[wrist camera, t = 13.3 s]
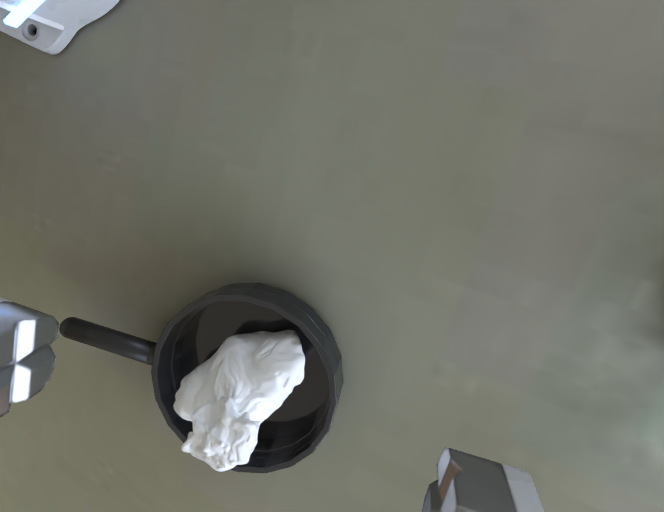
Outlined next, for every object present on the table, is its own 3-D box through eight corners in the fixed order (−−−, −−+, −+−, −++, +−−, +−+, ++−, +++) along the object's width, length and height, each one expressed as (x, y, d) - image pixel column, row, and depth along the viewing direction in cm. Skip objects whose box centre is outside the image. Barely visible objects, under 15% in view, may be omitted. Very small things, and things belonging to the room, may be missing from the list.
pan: (164, 413, 43) (140, 438, 39) (190, 260, 39) (166, 271, 35) (320, 465, 41) (311, 497, 37) (363, 310, 37) (357, 328, 33)
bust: (211, 377, 43) (203, 507, 35) (155, 341, 38) (130, 484, 30) (323, 333, 40) (340, 464, 32) (278, 288, 35) (286, 431, 27)
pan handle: (68, 330, 40) (53, 338, 38) (70, 311, 40) (55, 318, 38) (166, 361, 39) (155, 371, 37) (169, 342, 38) (158, 351, 37)
